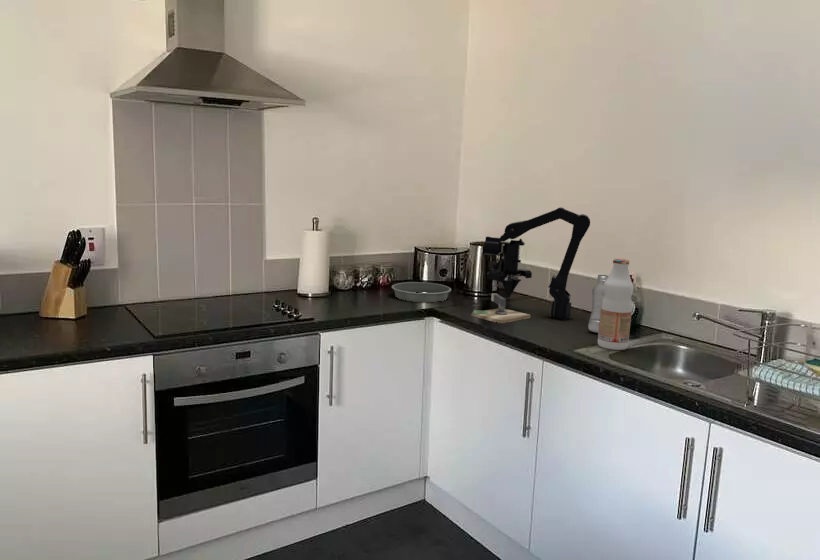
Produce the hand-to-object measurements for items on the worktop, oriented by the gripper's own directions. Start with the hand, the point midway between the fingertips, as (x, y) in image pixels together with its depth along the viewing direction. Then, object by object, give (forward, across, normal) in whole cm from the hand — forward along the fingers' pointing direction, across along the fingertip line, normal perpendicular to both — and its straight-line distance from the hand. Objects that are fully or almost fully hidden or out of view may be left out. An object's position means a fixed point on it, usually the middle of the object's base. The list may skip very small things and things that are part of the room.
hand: (508, 297), depth 261 cm
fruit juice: (+6, +5, +52) cm, 52 cm away
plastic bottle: (+6, -6, +38) cm, 39 cm away
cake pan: (+6, +12, -37) cm, 40 cm away
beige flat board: (+6, +8, +4) cm, 11 cm away
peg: (+3, +6, +1) cm, 7 cm away
